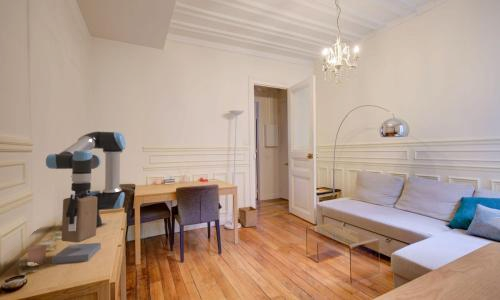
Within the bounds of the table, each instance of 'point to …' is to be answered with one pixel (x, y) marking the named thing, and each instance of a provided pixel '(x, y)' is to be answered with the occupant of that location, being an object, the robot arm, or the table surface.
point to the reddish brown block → (37, 254)
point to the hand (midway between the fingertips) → (79, 226)
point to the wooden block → (80, 220)
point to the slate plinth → (76, 253)
